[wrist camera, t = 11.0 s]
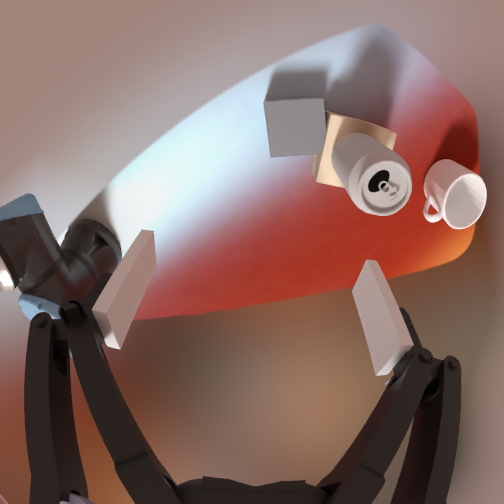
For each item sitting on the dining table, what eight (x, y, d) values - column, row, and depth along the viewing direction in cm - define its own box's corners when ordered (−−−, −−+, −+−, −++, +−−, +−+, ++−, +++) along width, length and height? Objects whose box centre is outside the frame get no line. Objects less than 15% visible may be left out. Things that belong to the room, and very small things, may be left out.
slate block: (270, 149, 40) (270, 157, 36) (264, 100, 36) (263, 102, 32) (321, 145, 39) (327, 154, 35) (317, 96, 35) (323, 98, 31)
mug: (457, 148, 35) (482, 163, 29) (467, 195, 40) (489, 214, 33) (402, 176, 40) (422, 196, 34) (417, 222, 45) (435, 246, 39)
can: (353, 120, 31) (387, 138, 21) (389, 155, 33) (429, 188, 23) (319, 159, 35) (337, 193, 25) (356, 191, 37) (383, 234, 27)
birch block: (310, 168, 42) (316, 181, 37) (323, 110, 36) (331, 114, 31) (366, 181, 42) (378, 195, 37) (381, 126, 36) (396, 133, 31)
